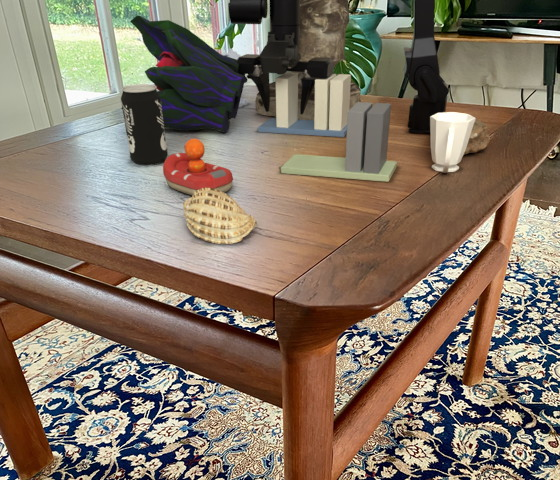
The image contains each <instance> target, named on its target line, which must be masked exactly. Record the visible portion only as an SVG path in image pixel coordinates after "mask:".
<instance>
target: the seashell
mask: <svg viewBox="0 0 560 480" xmlns="http://www.w3.org/2000/svg"><path fill="white" fill-rule="evenodd" d="M182 208H183V217H184V219H185V221H186V227H187V228H188V230H189V231H190V232H191V233H192V235H194V236H195V237H197V238H199V239H201V240H202V241H204V242H205V241H206V242H209V243H213V244H219V245H231V244H237V243H239V242H241V241H243V240H244V239H243V238H245V237H246V236H248V235H250V233H251V232H252V231H253V230H254V229H255V228H256V227H257V226H258V222H257V221H256V219H255V217H254V216H252V214H249V213H246V211H245V210H244V208H242V207H241V206H240V205H239V203H238V202H237V201H236V200H235V199H234V198H233V197H232V196H230V194H227V193H226V192H221V191H219V190H216V189H212V188H201V189H199V190H197V191H195V192H194V195H193V196H192V195H191V197H188V199H187V198H186V200H185V201H184V202H182Z"/></svg>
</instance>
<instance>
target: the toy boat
mask: <svg viewBox="0 0 560 480" xmlns="http://www.w3.org/2000/svg"><path fill="white" fill-rule="evenodd" d="M205 151H206V150H205V145H204V143H203V141H201V140H200V139H198V138H190V139H188V140H187V141H186V142H185V145H184V152H175V153H173V154H170V155H168V156H167V158H166V159H165V161H164V162H163V165H162V171H163V172H162V173H163V176H164V178H165V181H166V183H167V184H168V186H169V187H170V188H172V190H175V191H176V192H177V191H178V192H180V193H184V194H186V195H190V196H191V197H192V196H193V195H194V192H195V191H197V190H199V189H201V188H212V189H216V190H219V191H221V192H224V193H226V192H228V191H229V190H231V188H232V187H233V182H234V176H233V172H232V170H230V169H229V168H227V167H223V166H220V165H216V164H212V163H209V162H205V161H204V159H202V158H203V156H204V155H205Z"/></svg>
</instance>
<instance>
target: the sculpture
mask: <svg viewBox="0 0 560 480" xmlns="http://www.w3.org/2000/svg"><path fill="white" fill-rule="evenodd" d="M349 23H350V7H349V2H348V0H300V30H301V36H300V48H299V54H301V59H300V60H299V61H307V62H308V61H309V60H310V59H312V58H314V57H323V58H332V60H333V61H334V68H335V67H336V66H337V65H338V64H339V63H340V62H342V61H346V56H345V47H346V31H347V27H348V25H349ZM292 67H294V66H292ZM290 73H298V120H314V113H315V85H314V87H313V89H312V92H311V94H310V97H309V100H308V103H307V105H306V108H305V111H304V113H303V114H300V104H301V93H302V83H301V79H302V78H304V77H305V72H295V71H290ZM269 87H270V107H269V111H268V112H266V111H265V108H264V105H263V102H262V99H261V96H260V93H259V91H258V92H257V93H256V97H255V100H254V103H255V112H256V113H257V114H259V115H262V116H267V117H273V118H276V80H275V81H273V82H269ZM361 93H362V90H361V87H359V86H358V85H357V84H356V83H355V82H354V81H351V85H350V106H349V110H350V109H351V108H352V107H353V106H354V105H355V104H356V103H357V102H362V101H361Z"/></svg>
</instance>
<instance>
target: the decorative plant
mask: <svg viewBox="0 0 560 480" xmlns="http://www.w3.org/2000/svg"><path fill="white" fill-rule="evenodd" d="M129 22H130V23H131V24H132V25H133V26H134V27H135V28H136V29H137V30H138V32H139V33H140V34H141V38H142V42H143V44H144V46H145V47H146V50H147V51H148V52H149V53H150V54H151V55H152V56H153V57H154V58H155V59H156V60H157V61H158V62H157V63H156V64H155V66H151V67H149V68H147V69H146V70H145V71H144V73H145V76H146V78H147V79H148V80H149V81H150V82H152V84H153V85H155V86H156V87H157V88H156V90H157V92H158V93H159V95H160V98H161V106H162V113H163V121H164V129H172V130H177V131H196V130H197V131H198V130H199V131H200V130H208V129H211V130H216V131H219V132H221V133H224V134H226V133H227V131H229V129H230V124H231V123H230V120H232V119H234V120H235V119H236V118H237V116H238V111H239V108H240V107H239V103H240V99H242V95H243V91H244V86H245V84H247V83H248V78H247V76H246V74H239V73H238V70H239V64H238V63H237V59H233V58H230V57H227V56H224V55H221V54H222V53H220V52H219V51H217V50H216V49H215V48H213V47H212V46H210V45H209V44H208V43H207V42H206V41H204V40H203V39H202V38H201V37H199V36H198V35H196V34H195V33H194V32H192V31H191V30H189V29H188V28H186V27H185V26H182V25H180V24H179V23H176V22H174V21H172V20H170V19H165V20H149V19H148V18H145V17H144V16H141V15H135V16H134V17H133V18H132V19H131V20H130V21H129ZM238 107H239V108H238ZM120 108H121V110H122V111H123V109H122V107H120Z"/></svg>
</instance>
